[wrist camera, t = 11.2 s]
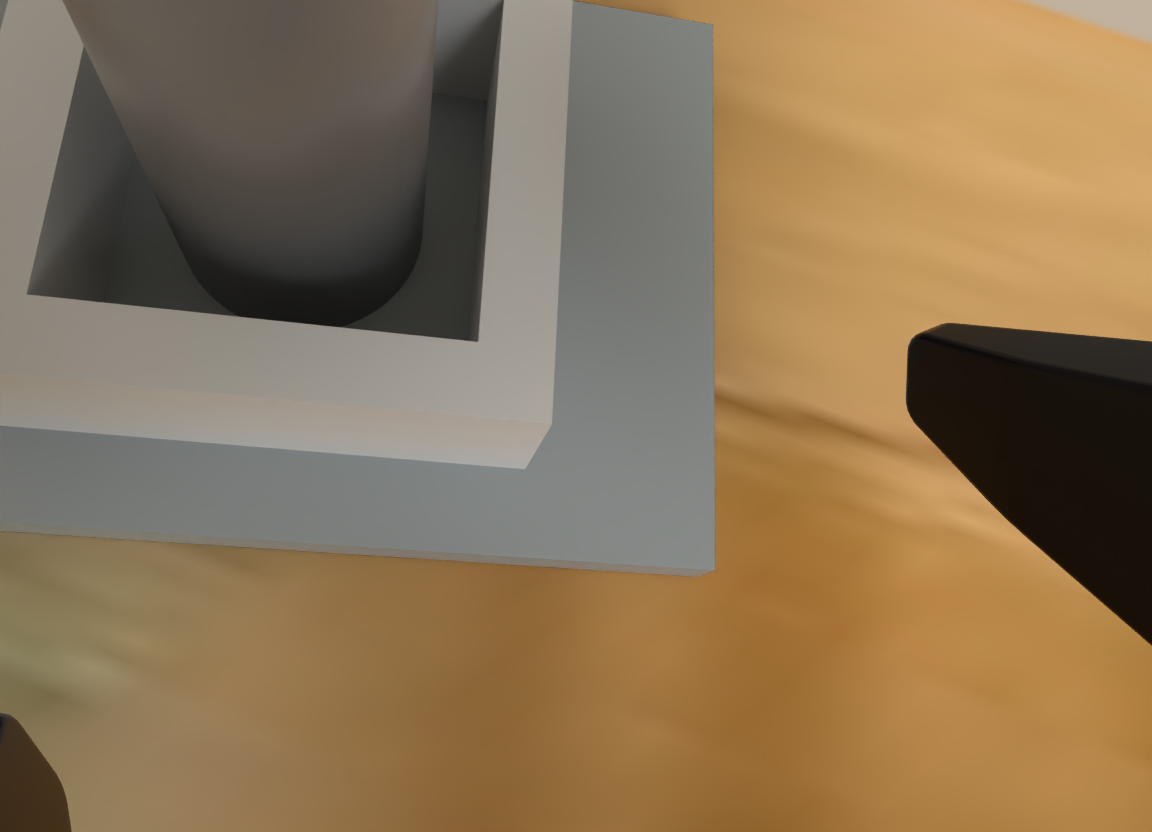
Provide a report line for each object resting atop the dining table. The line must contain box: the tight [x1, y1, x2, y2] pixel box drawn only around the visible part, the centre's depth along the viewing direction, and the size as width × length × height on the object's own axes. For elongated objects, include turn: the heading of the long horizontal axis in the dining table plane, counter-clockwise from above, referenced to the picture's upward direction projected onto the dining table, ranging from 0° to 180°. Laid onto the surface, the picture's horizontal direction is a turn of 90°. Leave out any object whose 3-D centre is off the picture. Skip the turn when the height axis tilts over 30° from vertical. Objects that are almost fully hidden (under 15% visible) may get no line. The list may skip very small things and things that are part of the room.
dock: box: [0, 0, 715, 577], centre depth 17 cm, size 12×16×4 cm
